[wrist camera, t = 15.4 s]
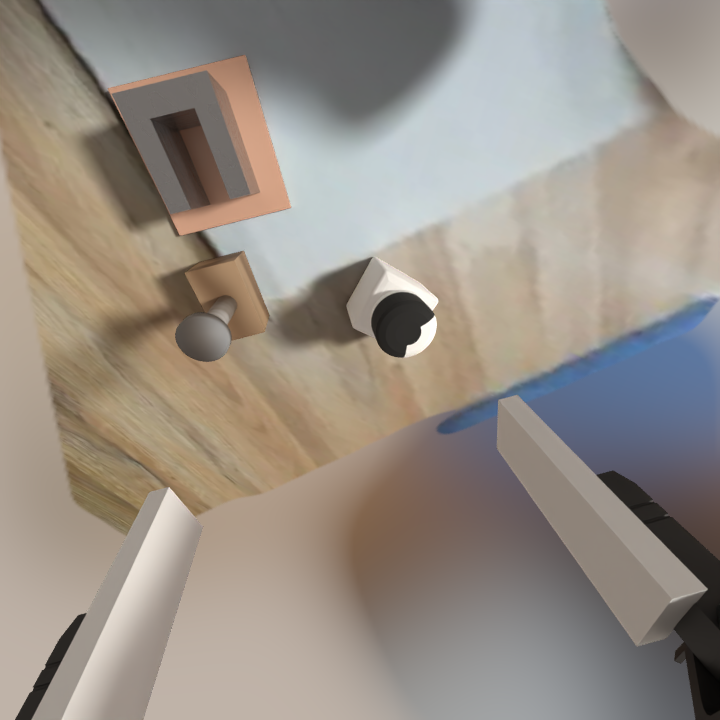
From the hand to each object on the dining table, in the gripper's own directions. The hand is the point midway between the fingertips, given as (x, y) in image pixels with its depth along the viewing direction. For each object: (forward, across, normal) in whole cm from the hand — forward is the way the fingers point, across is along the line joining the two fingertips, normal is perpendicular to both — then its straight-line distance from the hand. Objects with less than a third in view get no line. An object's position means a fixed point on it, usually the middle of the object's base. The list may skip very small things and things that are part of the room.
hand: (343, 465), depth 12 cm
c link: (+28, -7, +14) cm, 32 cm away
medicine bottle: (+29, +7, -4) cm, 30 cm away
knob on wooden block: (+29, -10, +1) cm, 30 cm away
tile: (+29, -7, +14) cm, 33 cm away
